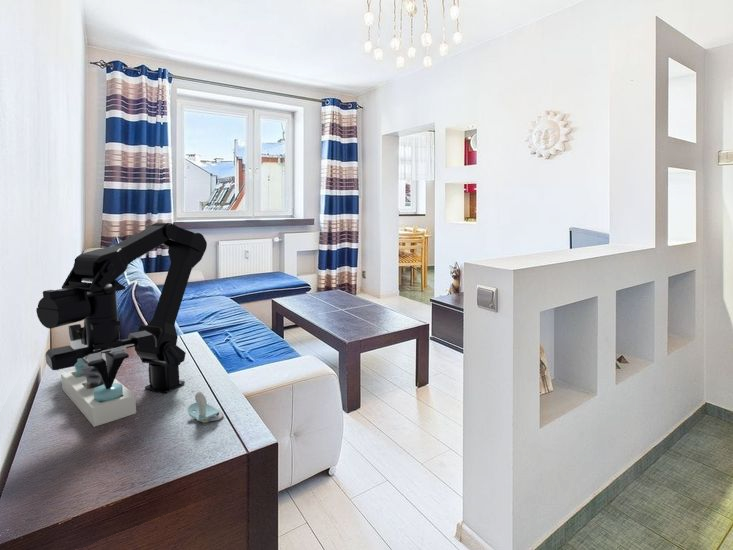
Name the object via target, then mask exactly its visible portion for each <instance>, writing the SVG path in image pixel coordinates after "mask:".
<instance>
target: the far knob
mask: <svg viewBox="0 0 733 550" xmlns="http://www.w3.org/2000/svg"><path fill="white" fill-rule="evenodd" d="M77 361H78V362H77V363H76V364H75V365H74V366H73V367H74V370H75V369H76V377H82V369H81V368H82V367H83V366H85V365H87V364H85V363H84V362H83V361H82V359H81V358H79V359H77Z"/></svg>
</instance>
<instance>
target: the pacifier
mask: <svg viewBox="0 0 733 550" xmlns="http://www.w3.org/2000/svg"><path fill="white" fill-rule="evenodd" d="M194 399H195V402H194V403H192V404H190V405H189V406H188V408H187V413H188V415H189V416H190V417H192V418H194V419H196V421H198V422H202V423H208V422H214V421H215V422H216V421H219V420H221V419H222V418H223V417H224V412H223V411H222V410H221V409H219V408H217V407H214V406H212V405H210V404H208V402H207V399H206V396H205V395H204V394H203V392H202V391H200V390H198V391H197V392H196V393H195V396H194ZM216 415H217V416H216Z"/></svg>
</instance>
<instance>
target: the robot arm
mask: <svg viewBox="0 0 733 550" xmlns="http://www.w3.org/2000/svg"><path fill="white" fill-rule="evenodd" d="M161 245H163V246H165V247H167V248H168V249H167V254H168V257H169V261H170V266H169V268H168V271H167V275H166V276H165V279H164V283H163V287H162V290H161V293H160V296H159V299H158V301H157V304H156V308H155V311H154V313H153V317H152V319H151V320H150V322H148V323H147V324H146V325H145V324H141V325H139V328H138V330H137V331H135V332H131V333H128V336H127V338H125V339H121V337H120V326H121V320H120V319H119V315H118V314H119V313H118V303H117V302H118V301H117V292H119V291H124V290H126V286H125V285H123V284H122V283H120V282H119V281H118V280H117V279H118V278H119V277H120V276H121V275H123V274H124V273H125V272H126V270H127V268H128V266H129V265H130V264H131V263H133V261H135V260H137V259H139V258H141V257H142V256H144V255H146V254H147V253H150V252H151V251H153V250H154V249H156V248H158V247H160V246H161ZM207 245H208V244H207V240H206V238H205V236H204V235H203V234H202V233H200V232H194V231H191V230H188V229H186V228H182V227H179V226H177V225H176V224H173V223H172V222H161V221H159V222H154V223H153V224H151V225H150V226H149V227H147V228H145V229H143V230H141V231H139V232H137V233H135V234H134V235H131V236H130V237H127V238H125V239H124V240H121V241H120V242H118V243H116V244H114V245H112V246H109V247H104V248H97V249H93V250H90V251H86V252H83V253H80V254H79V255H78V256H76V257H75V259H74V264H73V267H72V268H71V270H70V272H69V273H68V275H67V277H66V279H65V281H64V282H63V283H62V286H61V288H59V289H47V290H43V291H42V297H41V299H39V301H38V304H37V307H36V310H35V311H36V316H37V319H38V320H39V322H40V323H41V325H42V326H43V327H45V328H47V329H49V330H51V329H55V328H59V327H62V326H67V325H68V337H69V336H70V337H69V341H70V340H71V341H75V340H81V343H82V344H84V345H87V347H85V348H80V349H75V350H74V349H73V348H72V347H71V345H64V346H60V347H58V346H57V347H55V348H54V347H53V348H49V349H48V350H47V351H46V352H45V355H44V357H45V363H46V365H47V366H48V367H49V368H50V369H51V370H52V371H59V370H64V369H67V368H72V367H73V366H74V365H75V364H76V363H77V362H78V361H77V359H79V358H81V359H82V361H83V362H84V363H85V364H87V365H88V366H93V367H94V368H95V370H96V371H97V373H98V375H99V377H100V379H101V381H102V383H103V384H104V386H105V388H106V389H109V388H111V387H112V384H113V382H114V379H116V376H117V374H118V371H119V370H120V367H121V366H122V364H123V362H124V361H125V359H129V358H130V354H128V353H127V349H129V348H134V351H135V352H136V354H137V356H138V357H139V358H140V360H141V363H142V364H143V363H144V364H148V368H147V369H148V370H147V371H148V381H149V384H147V385H145V386H144V389H145V390H148V391H152V392H156V393H161V394H166V393H168V392H171V390H174V389H176V388H178V387H181V386H182V385H185V383H186V381H185V380H181V379H180V370H179V367H180V366H179V365H181V364H182V363H183V362H185V358H186V351H184V350H183V349H182V348H180V347H179V346H178V345H177V344H178V343H177V342H178V332H177V329H176V325H175V324H176V320H177V317H178V314H179V311H180V307H181V304H182V302H183V298H184V295H185V293H186V288H187V286H188V283H189V279H190V276H191V273H192V270H193V268H194V267H196V265H198V264H199V263H200V262H201V261H202V259H203V258H204V257H203V256H204V255H205V252H206V250H207ZM82 321H83V327H82V325H81V324H80V323H78V322H82ZM74 323H77V324H74ZM70 324H71V325H70ZM72 324H73V325H72ZM99 349H100V350H99ZM93 350H95V351H93ZM102 353H105V356H106V357H105V360H106V361H105V360H104V359H103V358H102Z"/></svg>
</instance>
